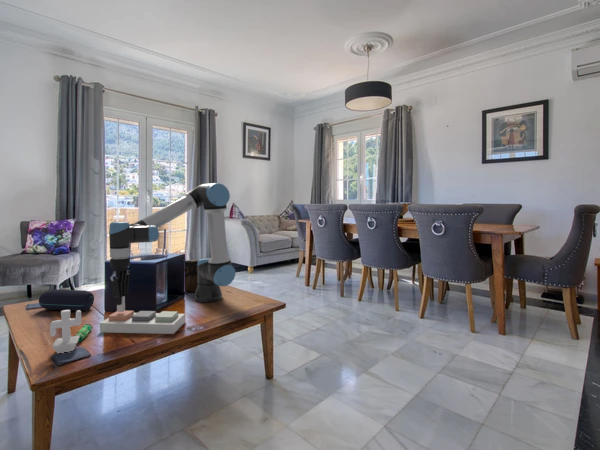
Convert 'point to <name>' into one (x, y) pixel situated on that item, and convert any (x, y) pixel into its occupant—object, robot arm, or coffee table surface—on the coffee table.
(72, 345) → the figurine
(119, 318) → the terracotta key
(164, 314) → the sage key
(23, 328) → the coffee table surface
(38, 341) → the coffee table surface
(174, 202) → the robot arm
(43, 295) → the portable speaker
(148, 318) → the charcoal key
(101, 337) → the coffee table surface
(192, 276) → the owl
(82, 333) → the candy
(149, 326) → the keypad
